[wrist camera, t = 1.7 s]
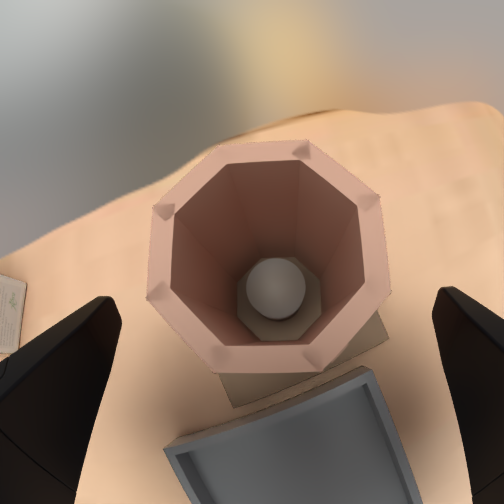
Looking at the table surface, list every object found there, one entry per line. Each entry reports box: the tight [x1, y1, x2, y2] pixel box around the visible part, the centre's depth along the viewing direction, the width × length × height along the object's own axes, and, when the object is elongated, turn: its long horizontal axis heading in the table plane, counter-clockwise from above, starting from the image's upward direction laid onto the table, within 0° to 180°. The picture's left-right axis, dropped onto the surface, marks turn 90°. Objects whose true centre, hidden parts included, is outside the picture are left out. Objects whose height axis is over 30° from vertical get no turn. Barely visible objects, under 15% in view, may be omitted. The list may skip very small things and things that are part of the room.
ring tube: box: [146, 139, 392, 374], centre depth 12 cm, size 7×6×10 cm
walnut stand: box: [218, 257, 389, 408], centre depth 16 cm, size 9×9×5 cm
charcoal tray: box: [163, 366, 423, 504], centre depth 14 cm, size 11×11×2 cm
